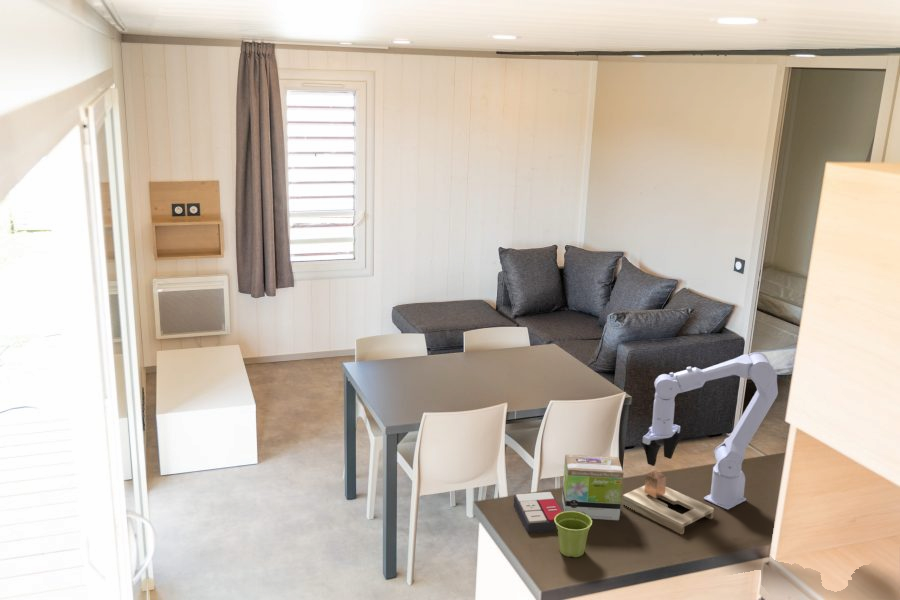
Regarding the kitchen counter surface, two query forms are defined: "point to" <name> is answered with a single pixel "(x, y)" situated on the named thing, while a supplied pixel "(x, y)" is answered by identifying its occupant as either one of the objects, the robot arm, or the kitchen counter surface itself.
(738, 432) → the robot arm
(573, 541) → the plant pot
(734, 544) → the kitchen counter surface
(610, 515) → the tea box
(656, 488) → the peg
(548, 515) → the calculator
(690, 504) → the keyhole plate
